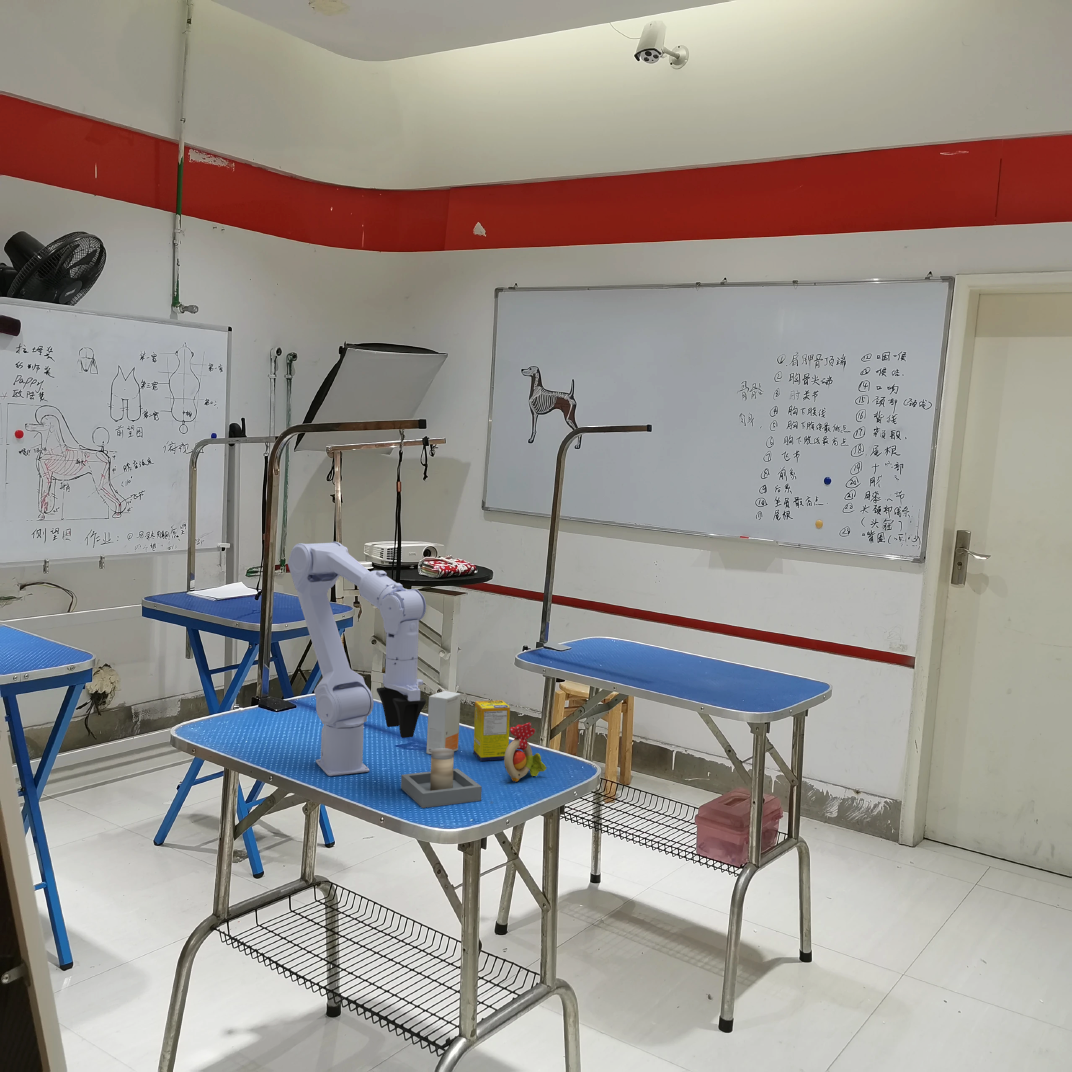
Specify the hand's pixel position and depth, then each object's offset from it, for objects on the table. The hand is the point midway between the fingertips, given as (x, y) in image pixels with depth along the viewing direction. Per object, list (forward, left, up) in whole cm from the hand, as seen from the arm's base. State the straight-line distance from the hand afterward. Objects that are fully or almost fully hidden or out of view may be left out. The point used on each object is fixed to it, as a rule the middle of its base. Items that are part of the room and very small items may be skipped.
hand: (399, 731), depth 181 cm
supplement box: (-12, +24, -11) cm, 29 cm away
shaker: (+6, +6, -10) cm, 13 cm away
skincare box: (-18, +16, -11) cm, 26 cm away
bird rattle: (+3, +24, -11) cm, 26 cm away
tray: (+6, +6, -10) cm, 13 cm away
